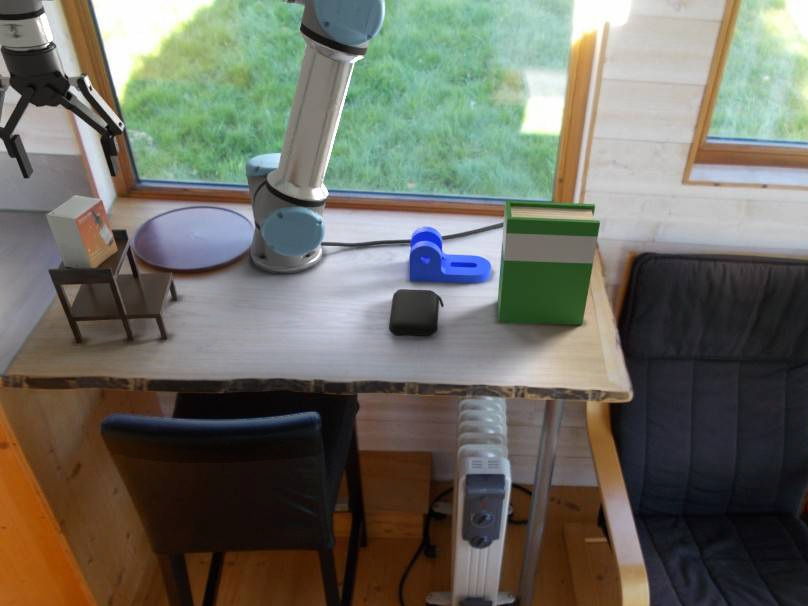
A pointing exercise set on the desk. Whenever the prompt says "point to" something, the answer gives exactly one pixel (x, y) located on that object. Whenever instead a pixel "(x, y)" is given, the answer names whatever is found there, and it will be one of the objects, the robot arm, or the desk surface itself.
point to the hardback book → (546, 261)
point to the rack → (114, 291)
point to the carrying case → (414, 313)
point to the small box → (82, 232)
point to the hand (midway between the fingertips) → (72, 174)
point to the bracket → (443, 261)
